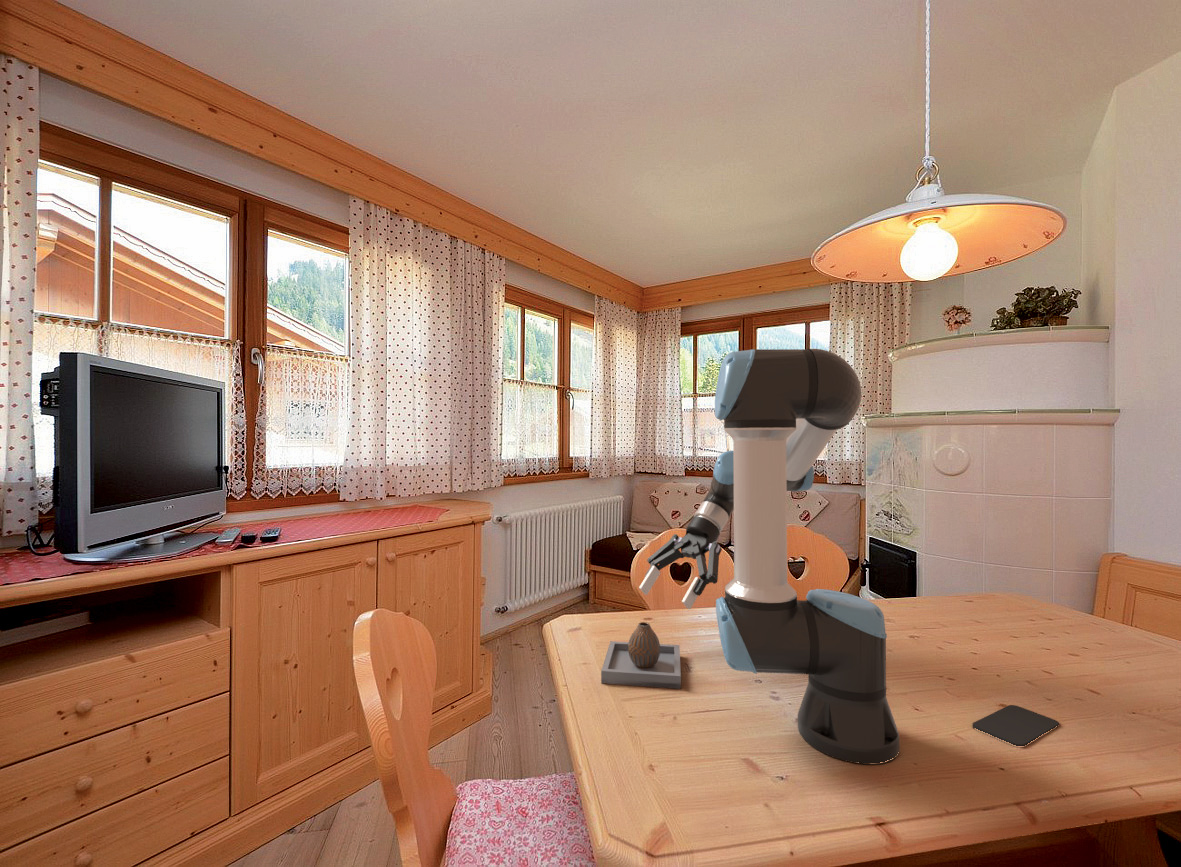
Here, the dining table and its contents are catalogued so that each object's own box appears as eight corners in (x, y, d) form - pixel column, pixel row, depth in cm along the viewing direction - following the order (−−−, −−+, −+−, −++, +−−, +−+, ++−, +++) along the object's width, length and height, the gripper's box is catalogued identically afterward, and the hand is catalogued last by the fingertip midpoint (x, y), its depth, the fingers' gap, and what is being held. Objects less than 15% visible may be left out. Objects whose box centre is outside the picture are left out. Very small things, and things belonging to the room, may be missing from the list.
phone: (1062, 722, 89) (1021, 746, 82) (1062, 727, 89) (1021, 751, 82) (1011, 703, 96) (969, 724, 89) (1011, 708, 96) (969, 729, 89)
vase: (666, 664, 112) (666, 623, 112) (647, 674, 107) (647, 632, 107) (641, 655, 117) (641, 616, 117) (621, 664, 112) (621, 624, 112)
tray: (680, 688, 103) (680, 676, 103) (601, 683, 105) (601, 671, 105) (679, 656, 118) (679, 645, 119) (610, 651, 121) (610, 641, 121)
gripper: (757, 542, 117) (714, 622, 108) (676, 528, 137) (635, 595, 128) (742, 520, 114) (697, 601, 105) (662, 510, 134) (618, 577, 125)
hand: (663, 598), depth 116 cm, fingers open, 13 cm apart
